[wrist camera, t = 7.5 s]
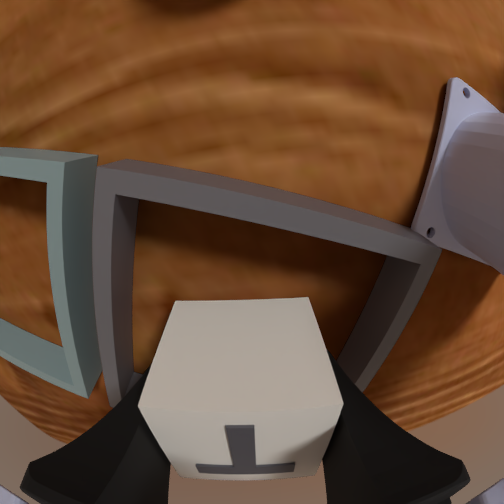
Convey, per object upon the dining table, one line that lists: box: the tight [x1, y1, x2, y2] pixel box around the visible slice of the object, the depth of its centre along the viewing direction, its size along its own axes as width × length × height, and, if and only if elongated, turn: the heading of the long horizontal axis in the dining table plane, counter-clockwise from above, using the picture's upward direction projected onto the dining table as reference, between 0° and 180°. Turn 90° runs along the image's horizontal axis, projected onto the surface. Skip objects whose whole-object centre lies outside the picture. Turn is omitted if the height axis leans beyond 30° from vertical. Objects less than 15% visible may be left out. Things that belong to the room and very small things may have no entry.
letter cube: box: [138, 297, 344, 480], centre depth 9 cm, size 5×5×5 cm
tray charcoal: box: [92, 159, 442, 408], centre depth 12 cm, size 13×13×2 cm
